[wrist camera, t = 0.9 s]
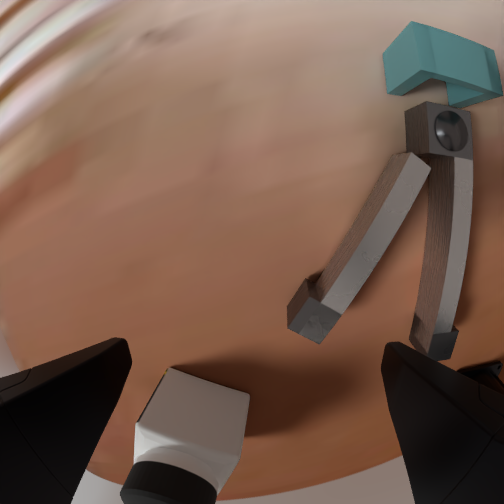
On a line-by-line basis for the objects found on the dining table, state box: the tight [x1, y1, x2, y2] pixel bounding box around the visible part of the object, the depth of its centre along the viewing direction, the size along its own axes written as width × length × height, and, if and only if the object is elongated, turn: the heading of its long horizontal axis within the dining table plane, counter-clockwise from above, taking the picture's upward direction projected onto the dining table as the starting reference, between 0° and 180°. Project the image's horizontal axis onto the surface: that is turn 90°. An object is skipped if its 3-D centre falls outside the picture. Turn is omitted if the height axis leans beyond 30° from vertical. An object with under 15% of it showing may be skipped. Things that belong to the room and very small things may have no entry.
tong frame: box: [405, 101, 473, 361], centre depth 16 cm, size 16×4×4 cm, turn 1°
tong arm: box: [287, 152, 431, 344], centre depth 16 cm, size 12×2×3 cm, turn 151°
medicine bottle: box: [120, 368, 250, 504], centre depth 17 cm, size 7×7×12 cm
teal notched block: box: [383, 21, 503, 108], centre depth 12 cm, size 3×6×5 cm, turn 91°
